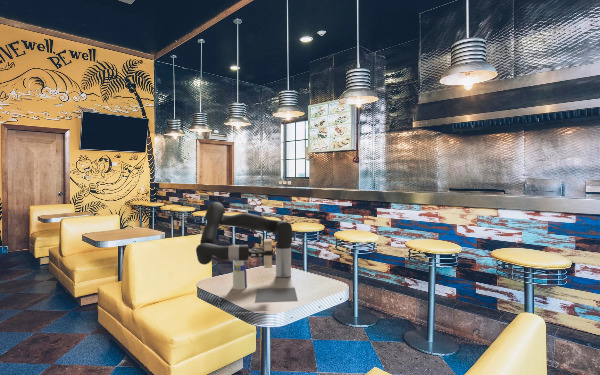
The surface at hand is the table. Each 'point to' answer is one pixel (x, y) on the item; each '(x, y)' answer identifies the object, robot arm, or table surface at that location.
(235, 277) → the water bottle
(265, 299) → the rubber mat
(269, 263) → the tan two-tone tall block
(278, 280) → the table surface
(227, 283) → the table surface
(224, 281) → the table surface
